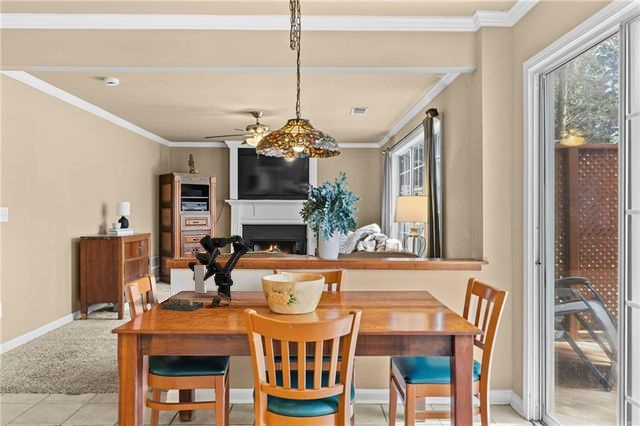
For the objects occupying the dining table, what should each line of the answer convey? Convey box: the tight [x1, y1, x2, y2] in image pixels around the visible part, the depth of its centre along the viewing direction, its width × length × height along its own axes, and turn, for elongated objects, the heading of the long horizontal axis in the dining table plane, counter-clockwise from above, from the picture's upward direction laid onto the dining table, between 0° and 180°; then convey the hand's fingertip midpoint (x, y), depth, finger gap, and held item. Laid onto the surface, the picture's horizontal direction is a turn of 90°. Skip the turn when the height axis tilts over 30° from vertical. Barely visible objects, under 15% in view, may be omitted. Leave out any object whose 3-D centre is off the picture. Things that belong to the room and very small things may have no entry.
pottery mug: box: [210, 293, 233, 308], centre depth 234 cm, size 12×10×8 cm
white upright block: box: [193, 265, 207, 294], centre depth 243 cm, size 2×6×14 cm, turn 68°
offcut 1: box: [168, 297, 182, 304], centre depth 229 cm, size 2×6×5 cm, turn 68°
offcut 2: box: [180, 297, 193, 305], centre depth 227 cm, size 2×6×5 cm, turn 68°
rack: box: [162, 301, 205, 312], centre depth 230 cm, size 10×18×3 cm, turn 68°
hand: (198, 280), depth 242 cm, fingers closed on white upright block, 6 cm apart
